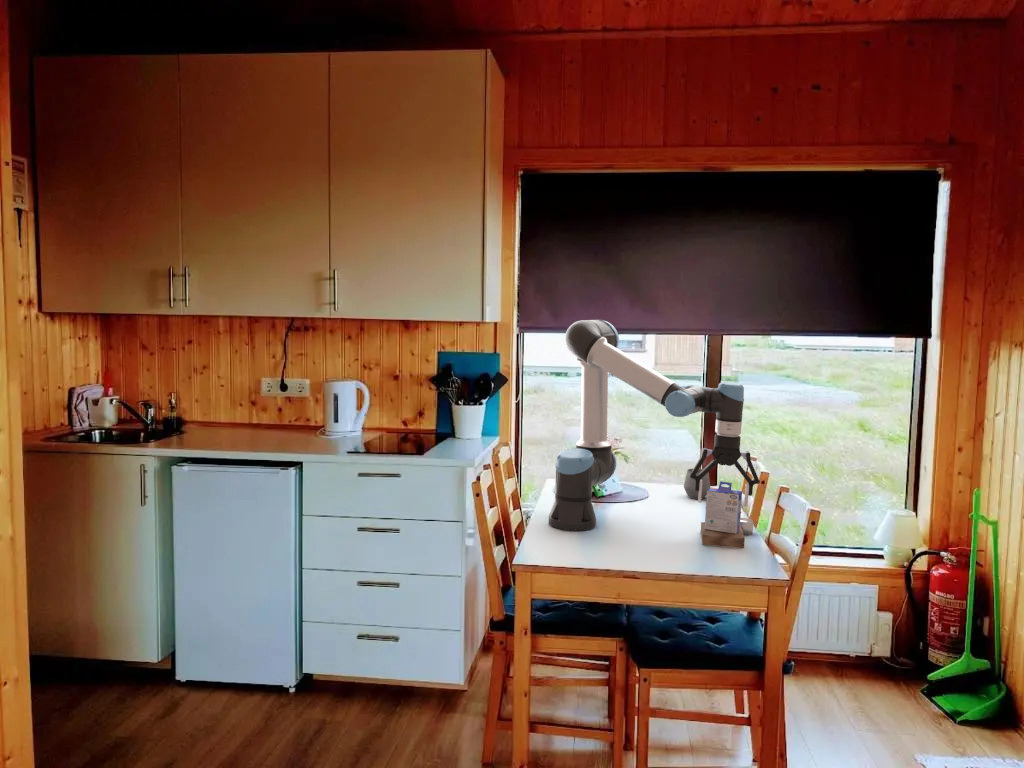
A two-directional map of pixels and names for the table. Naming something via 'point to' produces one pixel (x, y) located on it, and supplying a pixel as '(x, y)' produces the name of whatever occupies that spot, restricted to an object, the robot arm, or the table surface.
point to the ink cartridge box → (723, 509)
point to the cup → (690, 485)
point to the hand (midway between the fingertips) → (722, 503)
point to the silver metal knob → (746, 526)
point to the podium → (722, 538)
